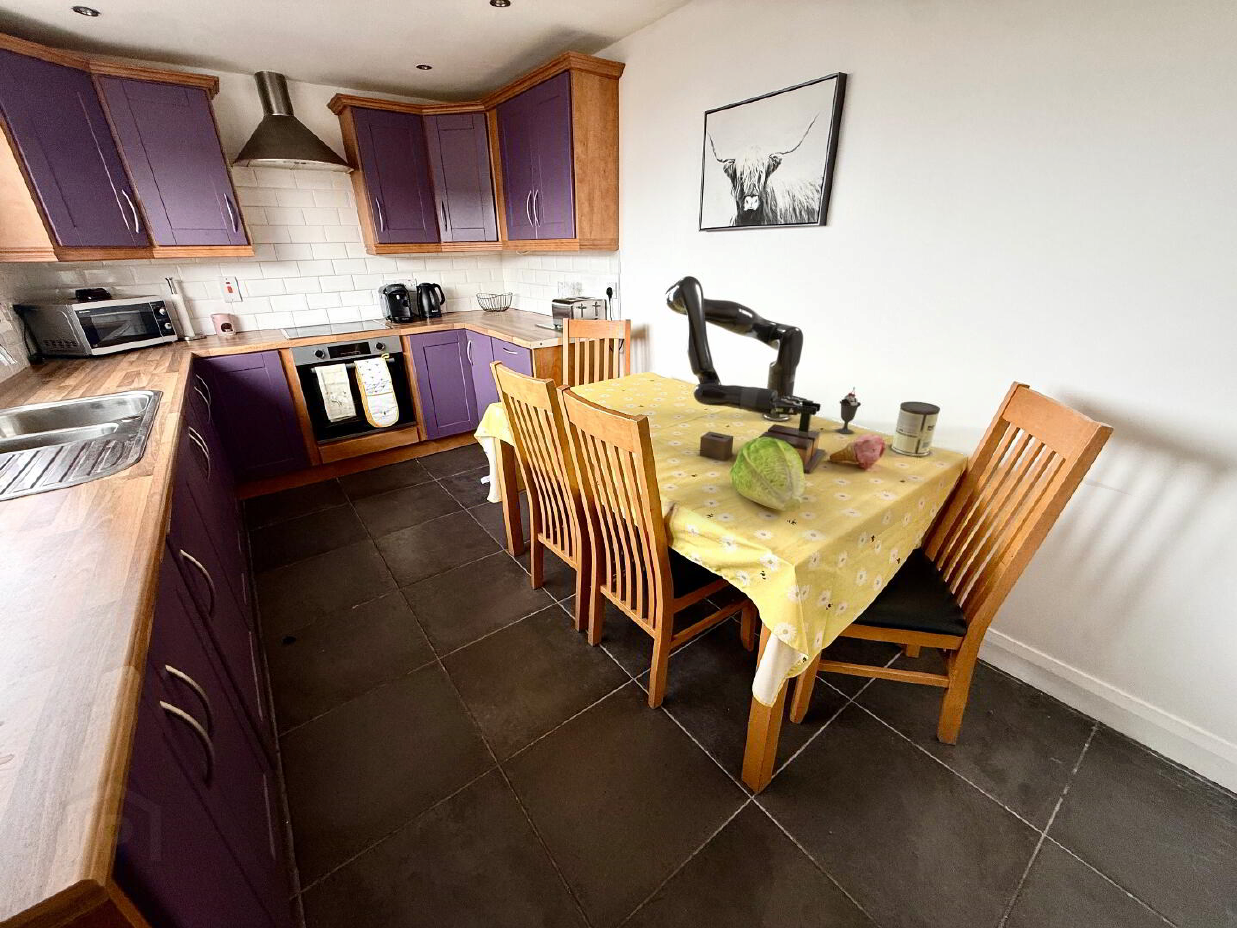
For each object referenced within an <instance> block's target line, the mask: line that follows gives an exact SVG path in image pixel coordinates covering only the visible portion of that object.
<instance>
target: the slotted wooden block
mask: <svg viewBox="0 0 1237 928" xmlns="http://www.w3.org/2000/svg"><path fill="white" fill-rule="evenodd" d="M798 430H799V427H794V426H793V427H792V426H788V425H781V424H776V423H773V424H772V425H771V426H770V427H769V428H768V429H767V431H763V432H762V434H761V435H759V436H758V438H762V437H770V438H774V439H778V440H783V441H785V442H787V443H788V444H789V445H791V446H792V447H793V448H794V449H795V450H796V451H797V452H798V454H799V456H800V458H801V460H802V462H803V472H804V474H805V473H806V474H810V473H811V472H812V471H813V470H814V468H815V467H816V465H817V464H818V463H819V462H820V461H821V459H823V457H824V456H825V454H826V449H822V448H819V443H820V435H821V432H820V431H816V430H810V429H809V436H808V439H804V438H798V437H797V436H798Z"/></svg>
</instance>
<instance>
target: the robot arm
mask: <svg viewBox="0 0 1237 928" xmlns="http://www.w3.org/2000/svg"><path fill="white" fill-rule="evenodd" d="M664 300H665V301H664V302H665V303H666V305H667V307H668V308H669V309H670V310H671V311H673V312H674V313H676V314H679V315H684V316H687V317H686V318H687V327H688V329H687V341H686V351H687V352H686V353H687V357H688V361H689V366H690V370H691V373H692V375H694V376H695V377H697V379H698V381H699V383H698V384H697V385H696V386H695V387H694V389H693V397H694V399H695V401H696V402H697V403H699V404H701V405H703V406H704V405H705V406H713V407H727V408H731V409H738V410H743V411H746V412H749V413H755V414H762V415H763V418H764V419H766V420H768V421H773V422H784V421H789V420H790V419H791V416H798V415H801V414H802V413H803V414H809V415H811V416H815V415H817V413H818V412H819V411H821V406H822V405H821V403H817V402H813V407H812V406H805V405H802V402H803V400H808V399H807V398H804V397H800V396H797V395H794V389H795V382H796V381H795V380H796V374H797V369H798V366H799V364H800V362H801V358H802V351H803V346H804V332H803V331H802V330H801V328H799V327H798V326H795V325H790V324H787V323H780V322H776V321H773V320H770V319H767V318H765V317H762V316H761V315H760V314H759V313H757V312H756V311H755V310H754V309H752V308H750V307H748V306H746V305H744V304H741V303H739V302H737V301H733V300H726V299H710V298H705V297H704V290H703V287H702V284H701V282H700V280H698V278H696V277H695V276H692V275H686V276H684V277H682V278H681V279H679V280H678V281H676V282H675V283H674V284H672V285H671V286H670V287H668V289H667V290H666V292H665V294H664ZM707 323H708V324H710V325H714V326H716V327H719V328H721V329H723V330H725V331H727V332H730V333H732V334H734V335H738V336H742V337H746V338H751V339H755V340H757V341H759V342H761V343H762V344H764V345H766V346H768V347H769V348H771V349H773V350H775V351H777V357H776V360H773V361H771V362H770V363H769V366H768V373H767V374H768V376H767V384H766V388H765V387H757V386H745V385H744V386H743V385H738V384H729V385H728V384H727V385H725V384H722V382H721V379H720V377H719V374H718V372H717V370H716V368H715V366H714V361H713V357H712V353H711V349H710V344H709V338H708V334H707Z"/></svg>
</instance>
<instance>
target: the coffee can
mask: <svg viewBox="0 0 1237 928" xmlns="http://www.w3.org/2000/svg"><path fill="white" fill-rule="evenodd" d="M899 407H900V408H899V413H898V417H897V420H896V421H897V422H896V426H895V431H894V436H893V440H892V444H891V450H893V451H894V452H896V453H899V454H902V455H907V456H913V457H924V456H928V455H929V454H930V449H931V445H932V442H933V438H934V437H933V436H934V433H935V429H936V426H937V421H938V417H939V413H940V411H941V407H940V406H938V405H936V404H933V403H928V402H924V401H904V402H901V403H900V404H899Z"/></svg>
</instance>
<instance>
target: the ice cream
mask: <svg viewBox="0 0 1237 928" xmlns="http://www.w3.org/2000/svg"><path fill="white" fill-rule="evenodd" d="M885 452H886V442H885V440H884V439H883V438H882V437H881V436H879V435H876V434H871V433H869V434H868V433H864V434H861V435H859V436H858V437H857V438H855V440H854V442H853V441H852V442H849V443H848V444H847V445H846V446H845V447H844V448H842V449H841V450H838V451H835V452H834V453H831V454H830V455H829V461H830V462H832V463H840V462H850V463H853V464H857V463H858V467H860V468H861V469H869V468H872V467H873V466H874V464H876V463H877V462H878V461H879V460H880V459H881V458H882V457H883V455H884V454H885Z"/></svg>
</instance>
